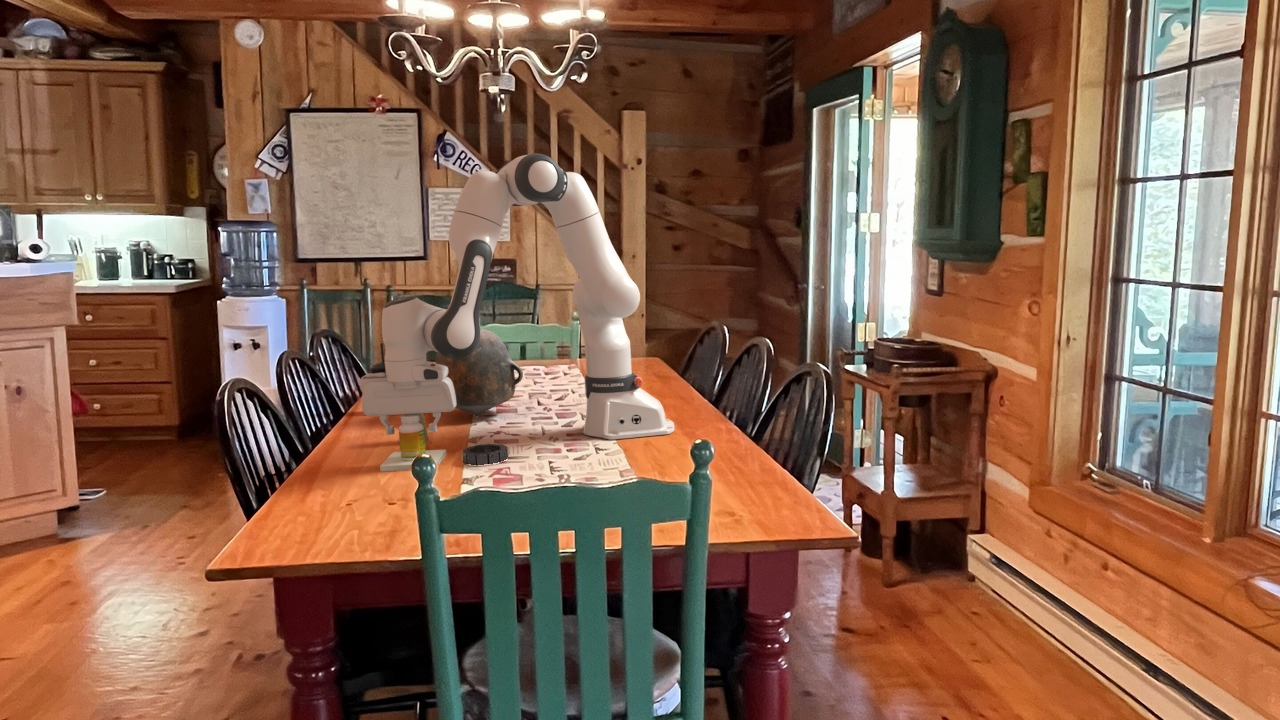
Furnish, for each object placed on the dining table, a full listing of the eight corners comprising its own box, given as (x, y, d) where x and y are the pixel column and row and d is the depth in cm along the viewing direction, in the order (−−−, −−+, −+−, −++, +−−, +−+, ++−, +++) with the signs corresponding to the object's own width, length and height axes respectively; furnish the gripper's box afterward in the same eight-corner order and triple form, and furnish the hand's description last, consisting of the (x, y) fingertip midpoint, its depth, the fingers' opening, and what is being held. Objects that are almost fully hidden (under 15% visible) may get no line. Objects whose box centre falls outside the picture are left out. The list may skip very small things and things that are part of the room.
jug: (512, 404, 264) (505, 301, 260) (530, 418, 244) (522, 306, 240) (426, 414, 256) (417, 307, 251) (437, 429, 236) (428, 313, 231)
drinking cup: (407, 411, 261) (401, 341, 258) (386, 416, 255) (380, 345, 252) (388, 409, 266) (382, 341, 262) (368, 414, 259) (361, 344, 256)
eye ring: (510, 453, 208) (509, 442, 207) (505, 464, 198) (504, 453, 198) (467, 455, 208) (466, 445, 207) (460, 467, 198) (459, 456, 197)
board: (446, 454, 209) (445, 449, 209) (436, 468, 198) (435, 463, 197) (393, 457, 209) (393, 452, 209) (380, 471, 197) (380, 466, 197)
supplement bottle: (425, 460, 200) (421, 416, 199) (400, 462, 200) (396, 418, 198) (426, 454, 206) (423, 411, 204) (402, 456, 205) (398, 413, 203)
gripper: (354, 376, 197) (360, 438, 199) (450, 371, 197) (455, 433, 199) (362, 371, 203) (368, 432, 205) (455, 366, 204) (459, 427, 206)
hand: (412, 433), depth 202 cm, fingers open, 8 cm apart
